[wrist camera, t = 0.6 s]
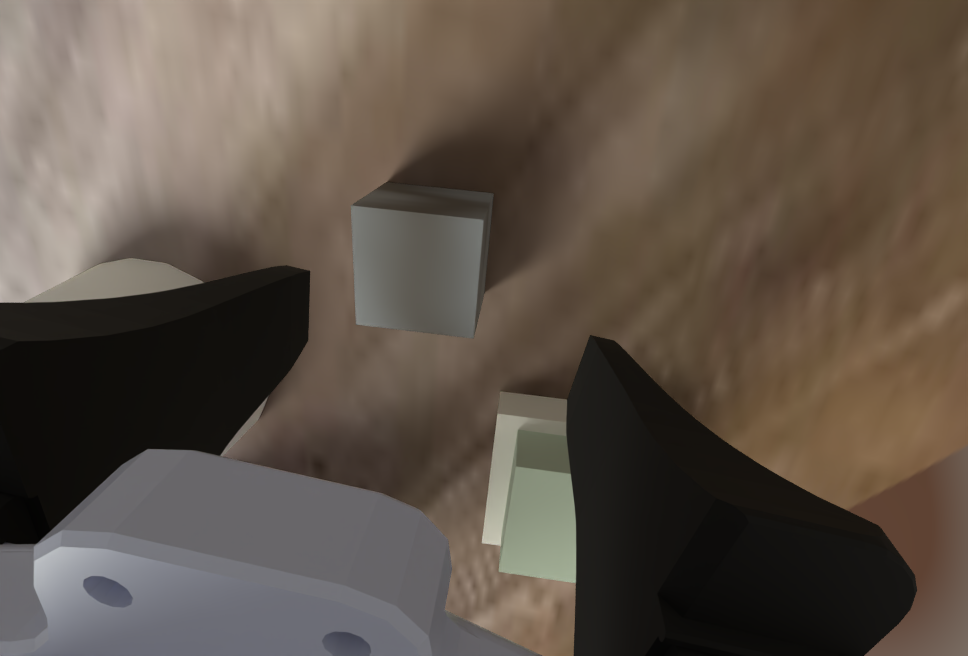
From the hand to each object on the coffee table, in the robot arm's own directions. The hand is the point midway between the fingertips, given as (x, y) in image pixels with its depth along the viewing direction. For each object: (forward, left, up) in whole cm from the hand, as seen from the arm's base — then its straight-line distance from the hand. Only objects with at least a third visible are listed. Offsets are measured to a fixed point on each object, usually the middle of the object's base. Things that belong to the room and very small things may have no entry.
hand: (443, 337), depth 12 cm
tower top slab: (+6, -12, -8) cm, 16 cm away
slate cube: (-2, -1, -10) cm, 10 cm away
